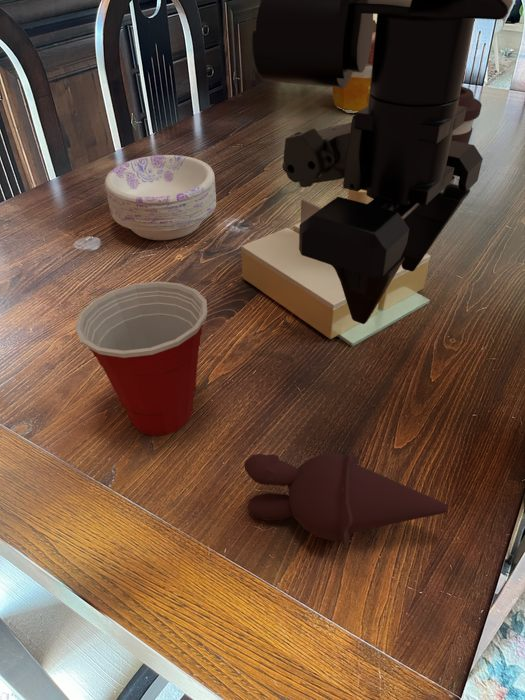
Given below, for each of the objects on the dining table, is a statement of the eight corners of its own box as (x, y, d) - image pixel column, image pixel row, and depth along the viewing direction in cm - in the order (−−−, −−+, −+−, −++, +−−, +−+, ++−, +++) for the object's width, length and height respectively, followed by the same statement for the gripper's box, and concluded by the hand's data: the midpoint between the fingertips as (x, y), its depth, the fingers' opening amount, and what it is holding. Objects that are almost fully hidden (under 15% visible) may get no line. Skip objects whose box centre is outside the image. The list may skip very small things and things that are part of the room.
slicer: (377, 275, 63) (389, 193, 57) (363, 283, 62) (373, 199, 56) (307, 236, 71) (311, 159, 64) (293, 242, 70) (295, 164, 63)
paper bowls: (157, 263, 74) (149, 208, 69) (93, 227, 82) (82, 175, 77) (239, 224, 82) (237, 172, 77) (174, 194, 90) (168, 146, 85)
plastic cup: (177, 359, 59) (163, 261, 51) (240, 417, 52) (234, 314, 44) (82, 407, 53) (50, 305, 46) (139, 477, 47) (112, 372, 39)
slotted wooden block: (436, 299, 67) (445, 262, 63) (343, 352, 59) (347, 313, 56) (322, 237, 79) (324, 203, 76) (233, 274, 71) (231, 239, 68)
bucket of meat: (404, 99, 129) (419, -1, 116) (401, 121, 117) (416, 12, 104) (320, 94, 133) (325, -3, 120) (307, 115, 121) (311, 9, 108)
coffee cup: (393, 193, 90) (408, 95, 80) (408, 171, 97) (423, 78, 87) (455, 204, 86) (479, 103, 77) (466, 180, 93) (488, 85, 84)
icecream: (448, 438, 42) (254, 422, 45) (457, 503, 35) (229, 479, 38) (440, 511, 44) (258, 491, 48) (447, 583, 38) (236, 554, 41)
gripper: (368, 52, 45) (352, 225, 55) (228, 111, 34) (240, 317, 44) (505, 68, 40) (461, 256, 50) (396, 145, 29) (367, 369, 39)
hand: (385, 293), depth 46 cm, fingers open, 9 cm apart
